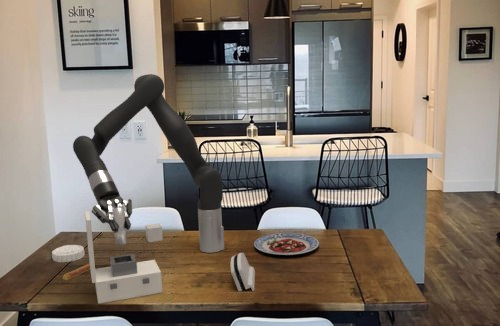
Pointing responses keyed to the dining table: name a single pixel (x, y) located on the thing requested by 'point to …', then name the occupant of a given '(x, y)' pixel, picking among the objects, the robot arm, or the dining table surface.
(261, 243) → the ceramic plate
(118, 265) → the socket
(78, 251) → the mooncake
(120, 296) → the white fixture base
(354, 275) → the dining table surface
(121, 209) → the rod
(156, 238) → the grey cube
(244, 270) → the white rounded block
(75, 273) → the chocolate bar
